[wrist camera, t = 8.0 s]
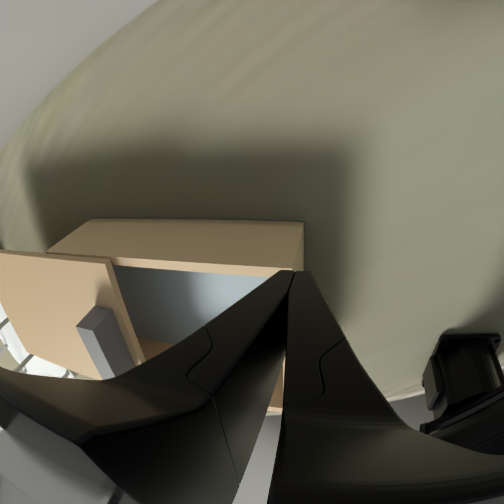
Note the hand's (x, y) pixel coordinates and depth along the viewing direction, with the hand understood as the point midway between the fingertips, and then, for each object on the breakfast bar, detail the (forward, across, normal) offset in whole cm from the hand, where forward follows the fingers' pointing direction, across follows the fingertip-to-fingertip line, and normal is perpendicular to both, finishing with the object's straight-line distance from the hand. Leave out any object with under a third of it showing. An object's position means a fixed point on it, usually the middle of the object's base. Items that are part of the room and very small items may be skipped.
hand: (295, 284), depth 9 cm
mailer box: (+12, +10, +10) cm, 19 cm away
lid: (+6, +21, +10) cm, 24 cm away
